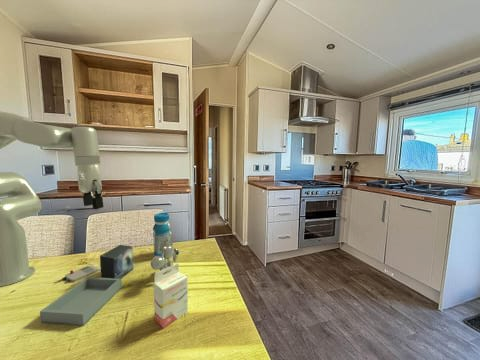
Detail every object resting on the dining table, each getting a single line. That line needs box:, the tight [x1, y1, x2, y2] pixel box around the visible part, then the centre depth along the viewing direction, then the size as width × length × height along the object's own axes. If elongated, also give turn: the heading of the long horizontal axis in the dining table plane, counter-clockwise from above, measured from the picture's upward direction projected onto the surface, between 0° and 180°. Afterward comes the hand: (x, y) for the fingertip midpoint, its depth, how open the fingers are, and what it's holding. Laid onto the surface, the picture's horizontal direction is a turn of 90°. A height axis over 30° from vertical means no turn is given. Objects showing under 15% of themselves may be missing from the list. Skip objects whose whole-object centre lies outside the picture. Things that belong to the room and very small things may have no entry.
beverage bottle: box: [152, 212, 172, 257], centre depth 100 cm, size 8×8×20 cm
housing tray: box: [39, 276, 123, 327], centre depth 67 cm, size 13×17×4 cm
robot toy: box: [150, 238, 180, 275], centre depth 81 cm, size 15×6×15 cm, turn 165°
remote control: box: [53, 264, 101, 284], centre depth 83 cm, size 7×16×3 cm, turn 152°
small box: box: [99, 244, 134, 280], centre depth 83 cm, size 11×6×10 cm, turn 168°
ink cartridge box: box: [153, 263, 189, 329], centre depth 62 cm, size 9×5×15 cm, turn 141°
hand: (93, 206), depth 78 cm, fingers open, 9 cm apart
